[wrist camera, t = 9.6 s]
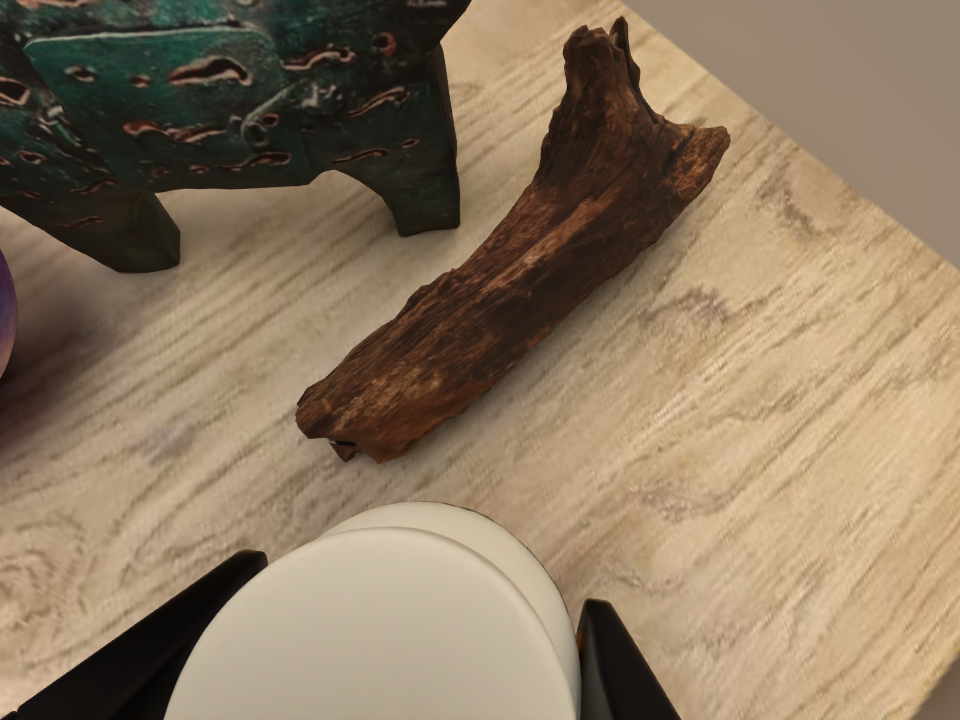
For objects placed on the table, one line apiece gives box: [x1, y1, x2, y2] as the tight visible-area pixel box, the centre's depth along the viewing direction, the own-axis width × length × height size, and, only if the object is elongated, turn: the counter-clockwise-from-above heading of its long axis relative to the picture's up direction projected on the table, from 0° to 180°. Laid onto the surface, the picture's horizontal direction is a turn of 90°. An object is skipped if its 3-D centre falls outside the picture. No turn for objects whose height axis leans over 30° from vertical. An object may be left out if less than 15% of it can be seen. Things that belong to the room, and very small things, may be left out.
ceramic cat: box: [0, 0, 472, 273], centre depth 17 cm, size 20×6×20 cm, turn 99°
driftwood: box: [295, 16, 731, 464], centre depth 22 cm, size 23×8×8 cm, turn 141°
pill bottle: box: [164, 501, 582, 720], centre depth 10 cm, size 6×6×10 cm
